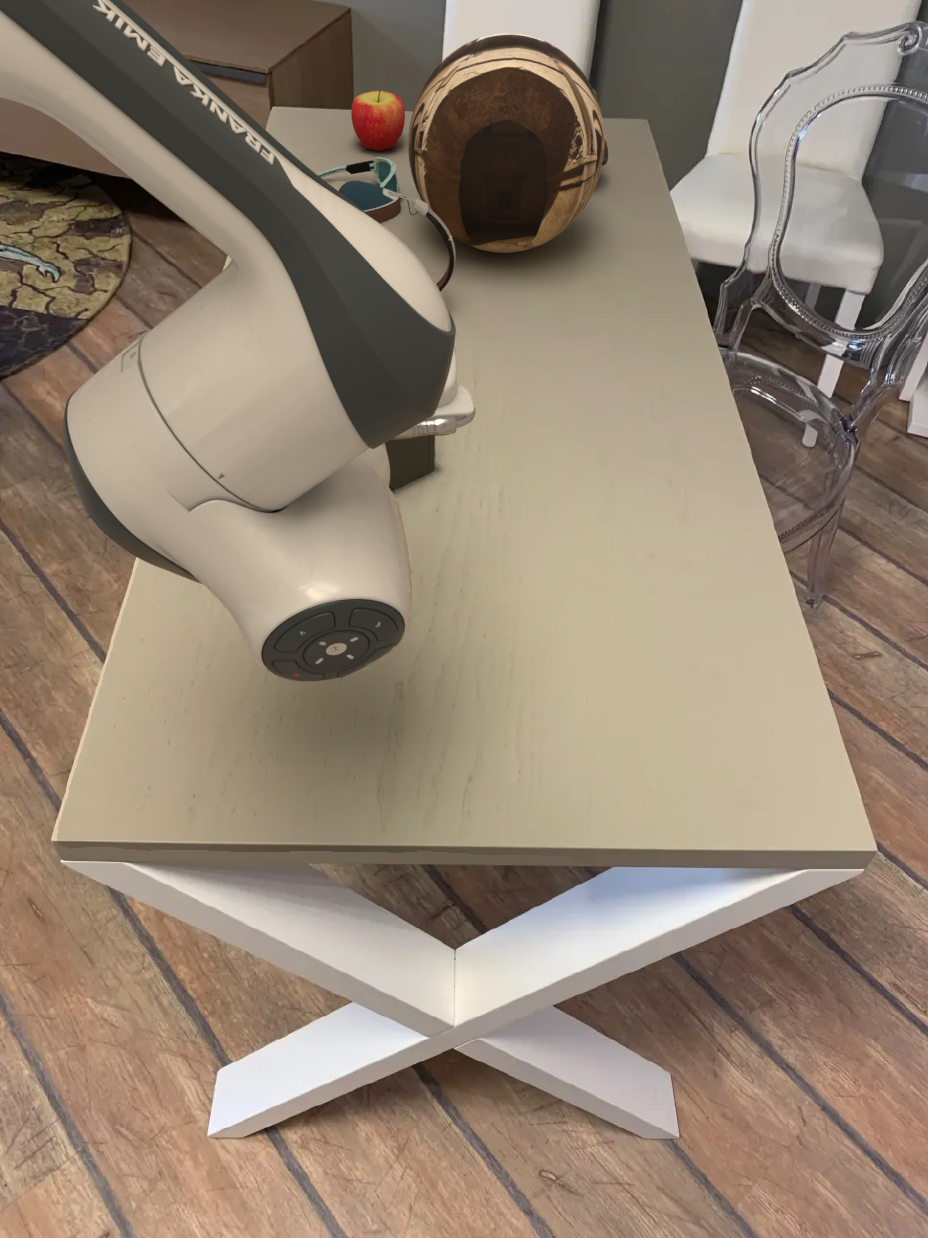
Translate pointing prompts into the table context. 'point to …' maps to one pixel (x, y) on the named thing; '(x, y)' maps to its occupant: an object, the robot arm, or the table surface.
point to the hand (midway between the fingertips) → (289, 317)
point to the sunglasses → (380, 166)
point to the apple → (378, 119)
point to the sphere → (506, 142)
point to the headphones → (396, 213)
